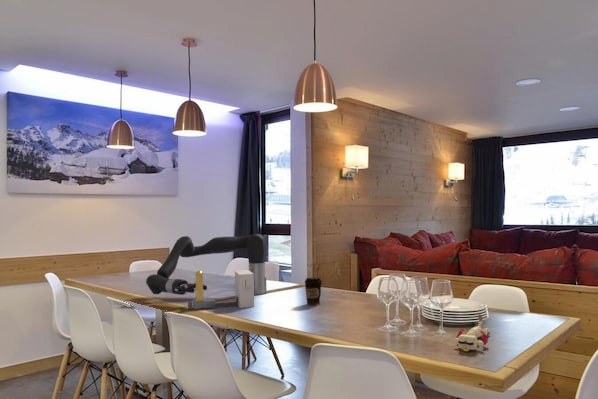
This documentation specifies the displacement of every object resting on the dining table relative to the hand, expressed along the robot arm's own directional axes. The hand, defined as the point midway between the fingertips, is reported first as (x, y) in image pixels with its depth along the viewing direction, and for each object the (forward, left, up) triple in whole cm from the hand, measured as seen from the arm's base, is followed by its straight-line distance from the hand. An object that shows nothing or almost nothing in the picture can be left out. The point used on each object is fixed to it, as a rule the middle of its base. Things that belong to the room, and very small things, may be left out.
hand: (200, 289), depth 225 cm
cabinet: (-22, -1, -9) cm, 24 cm away
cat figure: (-84, +94, -10) cm, 127 cm away
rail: (-7, -1, -9) cm, 12 cm away
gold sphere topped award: (-2, -1, -9) cm, 9 cm away
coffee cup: (-54, +12, -10) cm, 56 cm away
